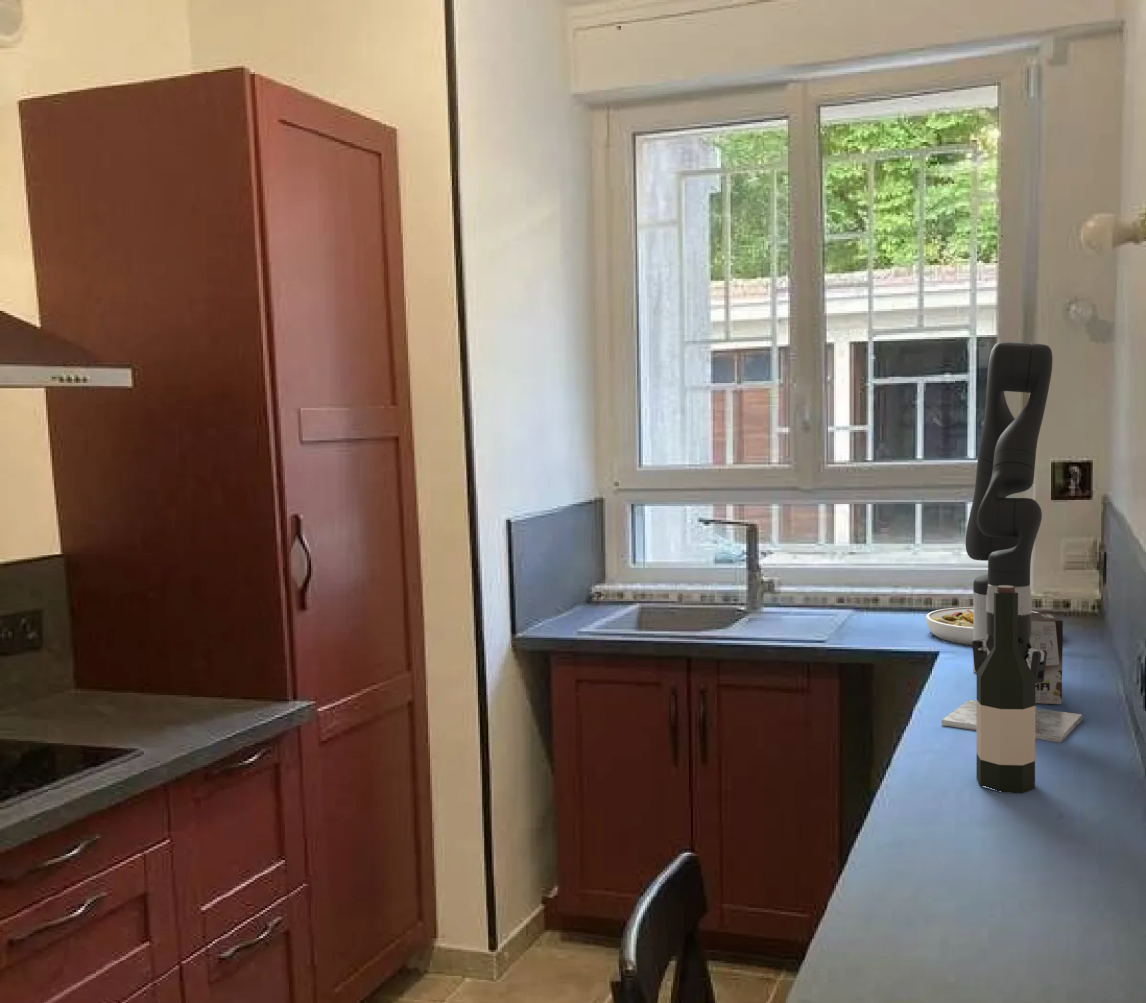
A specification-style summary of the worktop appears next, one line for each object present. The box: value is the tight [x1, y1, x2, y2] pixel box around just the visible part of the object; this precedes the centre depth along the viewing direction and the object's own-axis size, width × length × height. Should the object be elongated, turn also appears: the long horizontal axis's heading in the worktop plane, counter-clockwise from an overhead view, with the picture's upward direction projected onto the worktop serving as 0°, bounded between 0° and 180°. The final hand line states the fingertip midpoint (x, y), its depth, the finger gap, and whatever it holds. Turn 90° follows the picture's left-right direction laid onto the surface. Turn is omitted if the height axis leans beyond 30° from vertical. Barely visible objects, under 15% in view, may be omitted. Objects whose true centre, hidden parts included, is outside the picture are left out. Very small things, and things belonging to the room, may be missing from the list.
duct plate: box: [941, 699, 1083, 743], centre depth 198 cm, size 16×20×6 cm
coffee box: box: [1027, 612, 1064, 705], centre depth 214 cm, size 9×6×16 cm
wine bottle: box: [975, 585, 1036, 794], centre depth 165 cm, size 8×8×30 cm
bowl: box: [925, 606, 1039, 646], centre depth 273 cm, size 30×30×8 cm
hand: (1008, 701), depth 198 cm, fingers closed on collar, 6 cm apart
